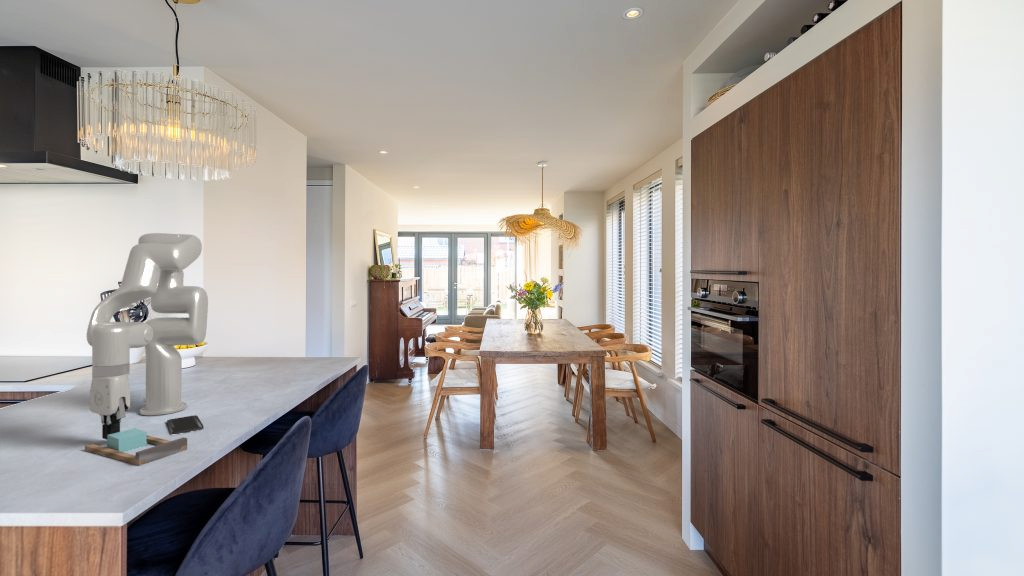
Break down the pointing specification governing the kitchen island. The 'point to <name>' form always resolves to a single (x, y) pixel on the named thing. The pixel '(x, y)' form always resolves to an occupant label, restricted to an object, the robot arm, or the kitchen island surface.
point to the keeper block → (127, 440)
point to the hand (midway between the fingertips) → (111, 437)
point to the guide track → (145, 455)
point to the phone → (184, 424)
